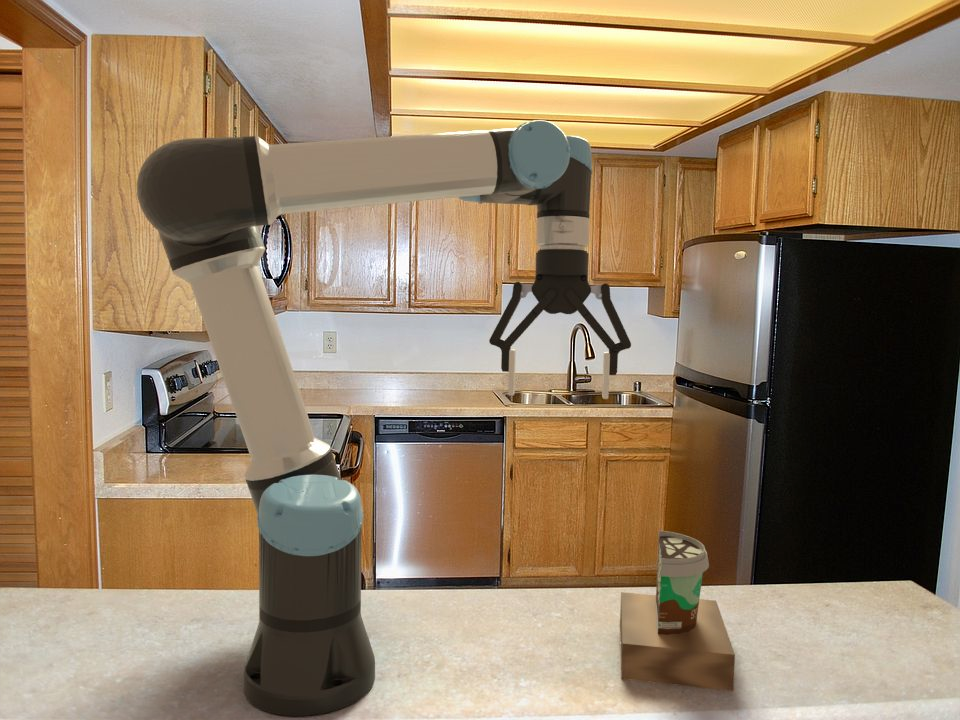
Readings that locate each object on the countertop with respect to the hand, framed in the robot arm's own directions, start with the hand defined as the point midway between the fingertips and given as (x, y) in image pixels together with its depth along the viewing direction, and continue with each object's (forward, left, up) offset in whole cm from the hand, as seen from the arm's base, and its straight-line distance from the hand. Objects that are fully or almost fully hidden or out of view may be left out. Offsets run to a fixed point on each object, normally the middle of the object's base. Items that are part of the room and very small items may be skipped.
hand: (557, 396), depth 107 cm
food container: (+17, -12, -28) cm, 34 cm away
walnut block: (+16, -12, -32) cm, 38 cm away
